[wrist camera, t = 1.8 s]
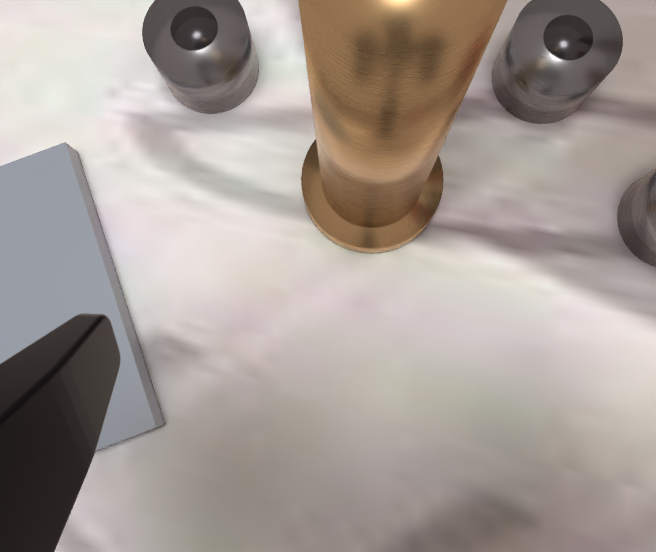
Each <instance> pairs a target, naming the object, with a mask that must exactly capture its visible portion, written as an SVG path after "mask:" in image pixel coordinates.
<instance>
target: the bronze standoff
mask: <svg viewBox="0 0 656 552" xmlns="http://www.w3.org/2000/svg"><path fill="white" fill-rule="evenodd" d="M506 2H507V0H299V8H300V16H301V24H302V31H303V39H304V47H305V55H306V63H307V71H308V79H309V87H310V95H311V103H312V111H313V119H314V126H315V134H316V140H315V141H314V142H313V144H312V145H311V147H310V149H309V151H308V152H307V155H306V158H305V160H304V164H303V168H302V177H301V180H302V191H303V196H304V201H305V204H306V207H307V211H308V213H309V215H310V217H311V219H312V221H313V222H314V224H315V225H316V227H317V228H318V229H319V230H320V231H321V232H322V233H323V234H324V235H325V236H326V237H327V238H328V239H330V240H331V241H333V242H334V243H336V244H338V245H340V246H341V247H343V248H346V249H349V250H352V251H356V252H361V253H381V252H387V251H390V250H394V249H397V248H399V247H401V246H403V245H405V244H407V243H408V242H410V241H412V240H413V239H414V238H415V237H417V236H418V235H419V234H420V233H421V232H422V231H423V230H424V228H425V227H426V226H427V224H428V223H429V221H430V220H431V218H432V217H433V215H434V213H435V211H436V209H437V207H438V205H439V202H440V199H441V195H442V190H443V170H442V165H441V161H440V159H439V156H438V155H439V152H440V150H441V148H442V146H443V143H444V141H445V139H446V137H447V134H448V132H449V130H450V128H451V125H452V123H453V121H454V119H455V116H456V114H457V112H458V110H459V107H460V105H461V103H462V101H463V98H464V96H465V94H466V92H467V90H468V87H469V85H470V83H471V81H472V78H473V76H474V74H475V72H476V69H477V67H478V65H479V63H480V60H481V58H482V56H483V54H484V51H485V49H486V47H487V45H488V42H489V40H490V38H491V36H492V33H493V31H494V29H495V27H496V24H497V22H498V20H499V18H500V16H501V13H502V11H503V9H504V7H505V4H506Z"/></svg>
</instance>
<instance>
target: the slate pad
mask: <svg viewBox="0 0 656 552" xmlns="http://www.w3.org/2000/svg"><path fill="white" fill-rule="evenodd" d="M82 313H90V314H104V315H106V316H108V318H109V319H110V321H111V324H112V327H113V330H114V334H115V337H116V341H117V344H118V347H119V351H120V357H121V360H120V368H119V372H118V375H117V379H116V382H115V385H114V389H113V392H112V396H111V399H110V403H109V406H108V410H107V413H106V417H105V420H104V423H103V427H102V430H101V434H100V437H99V441H98V444H97V447H96V450H95V451H97V450H100V449H102V448H105V447H108V446H110V445H113V444H115V443H118V442H120V441H123V440H126V439H128V438H131V437H133V436H136V435H138V434H141V433H144V432H146V431H149V430H151V429H154V428H156V427H159V426H162V425H164V424H165V423H164V420H163V417H162V414H161V411H160V408H159V404H158V401H157V398H156V395H155V392H154V389H153V386H152V383H151V380H150V376H149V373H148V370H147V367H146V364H145V361H144V358H143V355H142V352H141V348H140V345H139V342H138V339H137V336H136V333H135V330H134V327H133V323H132V320H131V317H130V314H129V311H128V308H127V305H126V302H125V299H124V295H123V292H122V289H121V286H120V283H119V280H118V277H117V274H116V271H115V267H114V264H113V261H112V258H111V255H110V252H109V249H108V246H107V243H106V239H105V236H104V233H103V230H102V227H101V224H100V221H99V218H98V215H97V211H96V208H95V205H94V202H93V199H92V196H91V193H90V190H89V187H88V183H87V180H86V177H85V174H84V171H83V168H82V165H81V162H80V159H79V155H78V152H77V151H76V150H74V149H73V148H72V147H71V146H69V145H68V144H67V143H66V142H65V143H62V144H59V145H57V146H54V147H51V148H49V149H46V150H43V151H40V152H38V153H35V154H32V155H30V156H27V157H24V158H21V159H19V160H16V161H13V162H11V163H8V164H5V165H2V166H0V364H1V363H2V362H4V361H5V360H7V359H8V358H10V357H12V356H13V355H15V354H16V353H18V352H19V351H21V350H23V349H24V348H26V347H27V346H29V345H30V344H32V343H33V342H35V341H37V340H38V339H40V338H41V337H43V336H44V335H46V334H48V333H49V332H51V331H52V330H54V329H55V328H57V327H59V326H60V325H62V324H63V323H65V322H66V321H68V320H69V319H71V318H73V317H74V316H76V315H78V314H82Z"/></svg>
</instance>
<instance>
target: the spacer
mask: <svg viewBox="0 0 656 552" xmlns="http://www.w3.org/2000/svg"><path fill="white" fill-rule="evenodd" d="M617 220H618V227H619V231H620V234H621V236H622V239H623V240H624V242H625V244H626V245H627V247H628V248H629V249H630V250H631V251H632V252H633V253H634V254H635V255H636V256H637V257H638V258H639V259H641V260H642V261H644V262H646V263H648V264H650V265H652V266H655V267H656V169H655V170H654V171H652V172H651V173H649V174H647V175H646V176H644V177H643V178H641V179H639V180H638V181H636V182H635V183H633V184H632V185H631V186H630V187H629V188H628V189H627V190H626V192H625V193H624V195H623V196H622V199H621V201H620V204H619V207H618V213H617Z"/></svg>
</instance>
